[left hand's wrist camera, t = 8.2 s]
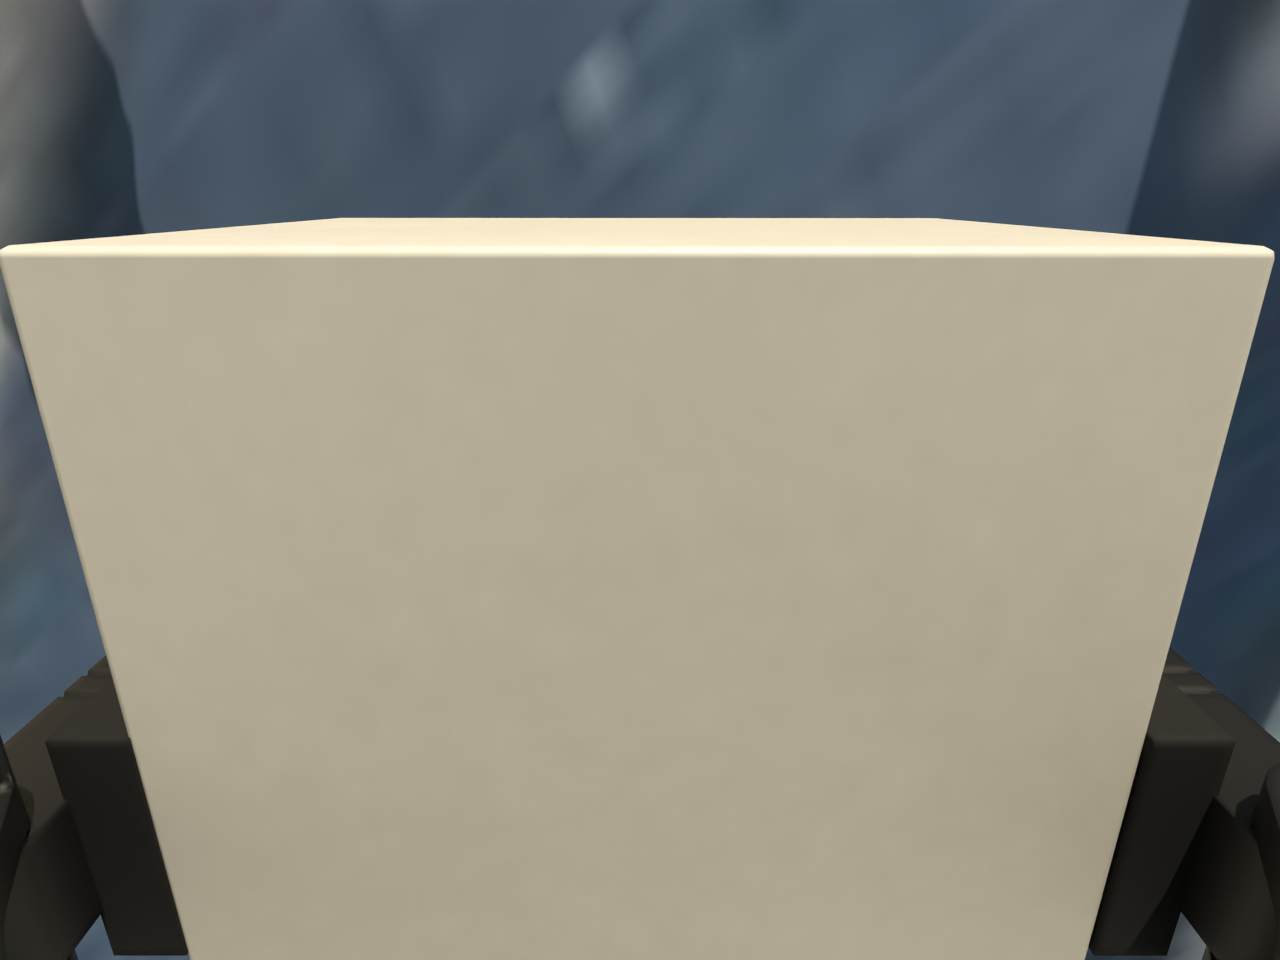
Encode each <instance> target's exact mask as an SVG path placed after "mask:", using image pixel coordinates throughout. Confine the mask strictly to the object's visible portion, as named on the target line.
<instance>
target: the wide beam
mask: <svg viewBox="0 0 1280 960" xmlns="http://www.w3.org/2000/svg"><path fill="white" fill-rule="evenodd" d="M1274 259H1275V258H1274V251H1272V250H1271V249H1269V248H1266V247H1264V246H1257V245H1245V244H1233V243H1221V242H1209V241H1197V240H1185V239H1174V238H1162V237H1150V236H1138V235H1126V234H1114V233H1102V232H1091V231H1079V230H1067V229H1055V228H1043V227H1031V226H1019V225H1008V224H996V223H984V222H972V221H960V220H948V219H936V218H336V219H324V220H312V221H300V222H288V223H275V224H263V225H251V226H239V227H227V228H215V229H203V230H190V231H178V232H166V233H154V234H142V235H130V236H118V237H105V238H93V239H81V240H69V241H57V242H45V243H33V244H20V245H9V246H7V247H5V248H3V249H1V250H0V268H1V271H2V275H3V279H4V282H5V286H6V290H7V293H8V297H9V301H10V304H11V308H12V312H13V315H14V319H15V323H16V326H17V330H18V334H19V337H20V341H21V345H22V348H23V352H24V356H25V359H26V363H27V367H28V370H29V374H30V378H31V381H32V385H33V389H34V392H35V396H36V400H37V403H38V407H39V411H40V414H41V418H42V422H43V425H44V429H45V433H46V436H47V440H48V444H49V447H50V451H51V455H52V458H53V462H54V466H55V469H56V473H57V476H58V480H59V484H60V487H61V491H62V495H63V498H64V502H65V506H66V509H67V513H68V517H69V520H70V524H71V528H72V531H73V535H74V539H75V542H76V546H77V550H78V553H79V557H80V561H81V564H82V568H83V572H84V575H85V579H86V583H87V586H88V590H89V594H90V597H91V601H92V605H93V608H94V612H95V616H96V619H97V623H98V627H99V630H100V634H101V638H102V641H103V645H104V649H105V652H106V656H107V660H108V663H109V667H110V671H111V674H112V678H113V682H114V685H115V689H116V693H117V696H118V700H119V704H120V707H121V711H122V715H123V718H124V722H125V726H126V729H127V733H128V737H130V740H131V743H132V747H133V751H134V754H135V758H136V762H137V765H138V769H139V773H140V776H141V780H142V784H143V787H144V791H145V795H146V798H147V802H148V806H149V809H150V813H151V817H152V820H153V824H154V828H155V831H156V835H157V839H158V842H159V846H160V850H161V853H162V857H163V861H164V864H165V868H166V872H167V875H168V879H169V883H170V886H171V890H172V894H173V897H174V901H175V905H176V908H177V912H178V916H179V919H180V923H181V927H182V930H183V934H184V938H185V941H186V945H187V949H188V956H189V960H1085V957H1086V953H1087V949H1088V946H1089V942H1090V938H1091V935H1092V931H1093V927H1094V924H1095V920H1096V916H1097V912H1098V909H1099V905H1100V901H1101V898H1102V894H1103V890H1104V887H1105V883H1106V879H1107V876H1108V872H1109V868H1110V864H1111V861H1112V857H1113V853H1114V850H1115V846H1116V842H1117V839H1118V835H1119V831H1120V828H1121V824H1122V820H1123V816H1124V813H1125V809H1126V805H1127V802H1128V798H1129V794H1130V791H1131V787H1132V783H1133V780H1134V776H1135V772H1136V768H1137V765H1138V761H1139V757H1140V754H1141V750H1142V746H1143V743H1144V739H1145V735H1146V732H1147V728H1148V724H1149V720H1150V717H1151V713H1152V709H1153V706H1154V702H1155V698H1156V695H1157V691H1158V687H1159V683H1160V680H1161V676H1162V672H1163V669H1164V665H1165V661H1166V658H1167V654H1168V650H1169V647H1170V643H1171V639H1172V635H1173V632H1174V628H1175V624H1176V621H1177V617H1178V613H1179V610H1180V606H1181V602H1182V599H1183V595H1184V591H1185V587H1186V584H1187V580H1188V576H1189V573H1190V569H1191V565H1192V562H1193V558H1194V554H1195V551H1196V547H1197V543H1198V539H1199V536H1200V532H1201V528H1202V525H1203V521H1204V517H1205V514H1206V510H1207V506H1208V503H1209V499H1210V495H1211V491H1212V488H1213V484H1214V480H1215V477H1216V473H1217V469H1218V466H1219V462H1220V458H1221V454H1222V451H1223V447H1224V443H1225V440H1226V436H1227V432H1228V429H1229V425H1230V421H1231V418H1232V414H1233V410H1234V406H1235V403H1236V399H1237V395H1238V392H1239V388H1240V384H1241V381H1242V377H1243V373H1244V370H1245V366H1246V362H1247V358H1248V355H1249V351H1250V347H1251V344H1252V340H1253V336H1254V333H1255V329H1256V325H1257V322H1258V318H1259V314H1260V310H1261V307H1262V303H1263V299H1264V296H1265V292H1266V288H1267V285H1268V281H1269V277H1270V274H1271V270H1272V266H1273V262H1274Z"/></svg>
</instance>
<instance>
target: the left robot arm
mask: <svg viewBox="0 0 1280 960" xmlns="http://www.w3.org/2000/svg"><path fill="white" fill-rule="evenodd" d="M1193 669H1194V668H1193V667H1191V666H1190V665H1189V664H1188V663H1187V662H1186V661H1185V660H1183V659H1182V658H1181V657H1180V656H1179V655H1178V654H1176V653H1175V652H1174V651H1173V650H1172V649H1171V648H1170V647H1169V650H1168V654H1167V658H1166V661H1165V665H1164V669H1163V672H1162V676H1161V680H1160V683H1159V687H1158V691H1157V695H1156V698H1155V702H1154V706H1153V709H1152V713H1151V717H1150V720H1149V724H1148V728H1147V732H1146V735H1145V739H1144V743H1143V746H1142V750H1141V754H1140V757H1139V761H1138V765H1137V768H1136V772H1135V776H1134V780H1133V783H1132V787H1131V791H1130V794H1129V798H1128V802H1127V805H1126V809H1125V813H1124V816H1123V820H1122V824H1121V828H1120V831H1119V835H1118V839H1117V842H1116V846H1115V850H1114V853H1113V857H1112V861H1111V864H1110V868H1109V872H1108V876H1107V879H1106V883H1105V887H1104V890H1103V894H1102V898H1101V901H1100V905H1099V909H1098V912H1097V916H1096V920H1095V924H1094V927H1093V931H1092V935H1091V938H1090V942H1089V948H1090V950H1091V951H1092V953H1093V955H1167V953H1168V949H1169V946H1170V943H1171V940H1172V937H1173V934H1174V931H1175V928H1176V925H1177V922H1178V919H1179V916H1180V912H1182V913H1183V915H1184V916H1185V917H1186V919H1187V920H1188V921H1189V923H1190V924H1191V925H1192V927H1193V928H1194V929H1195V931H1196V932H1197V933H1198V935H1199V936H1200V937H1201V939H1202V940H1203V941H1204V943H1205V944H1206V945H1207V946H1206V949H1205V952H1204V955H1203V958H1202V960H1280V743H1279V742H1278V741H1277V740H1276V739H1275V738H1273V737H1272V736H1271V735H1270V734H1269V733H1268V732H1267V731H1265V730H1264V729H1263V728H1262V727H1261V726H1260V725H1258V724H1257V723H1256V722H1255V721H1254V720H1253V719H1252V718H1250V717H1249V716H1248V715H1247V714H1246V713H1245V712H1243V711H1242V710H1241V709H1240V708H1239V707H1238V706H1237V705H1235V704H1234V703H1233V702H1232V701H1231V700H1230V699H1228V698H1227V697H1226V696H1225V695H1224V694H1218V693H1217V688H1216V687H1215V686H1213V685H1212V684H1211V683H1210V682H1209V681H1208V680H1207V679H1205V678H1204V677H1203V676H1202V675H1201V674H1200V673H1194V671H1193ZM64 693H65V694H64V697H58V698H56V699H55V700H54V701H53V702H52V703H51V704H50V705H48V706H47V707H46V708H45V709H44V710H43V711H42V712H40V713H39V714H38V715H37V716H36V717H35V718H34V719H32V720H31V721H30V722H29V723H28V724H27V725H26V726H24V727H23V728H22V729H21V730H20V731H19V732H18V733H16V734H15V735H14V736H13V737H12V738H11V739H9V740H8V741H7V742H6V743H5V744H3V741H2V739H1V736H0V960H78V958H77V955H76V952H75V948H76V946H77V945H78V944H79V942H80V941H81V940H82V938H83V937H84V936H85V934H86V933H87V932H88V930H89V929H90V928H91V926H92V925H93V924H94V922H95V921H96V920H97V918H98V917H99V916H100V914H101V917H102V920H103V923H104V926H105V929H106V932H107V935H108V938H109V941H110V944H111V947H112V951H113V954H114V955H187V954H188V949H187V945H186V941H185V938H184V934H183V930H182V927H181V923H180V919H179V916H178V912H177V908H176V905H175V901H174V897H173V894H172V890H171V886H170V883H169V879H168V875H167V872H166V868H165V864H164V861H163V857H162V853H161V850H160V846H159V842H158V839H157V835H156V831H155V828H154V824H153V820H152V817H151V813H150V809H149V806H148V802H147V798H146V795H145V791H144V787H143V784H142V780H141V776H140V773H139V769H138V765H137V762H136V758H135V754H134V751H133V747H132V743H131V740H130V737H128V733H127V729H126V726H125V722H124V718H123V715H122V711H121V707H120V704H119V700H118V696H117V693H116V689H115V685H114V682H113V678H112V674H111V671H110V667H109V663H108V660H107V656H105V657H103V658H102V659H101V660H100V661H99V662H98V663H97V664H95V665H94V666H93V667H92V668H91V669H90V670H89V671H88V675H87V676H82V677H81V678H79V679H78V680H77V681H76V682H75V683H74V684H73V685H71V686H70V687H69V688H68V689H67V690H66V691H65V692H64Z"/></svg>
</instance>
